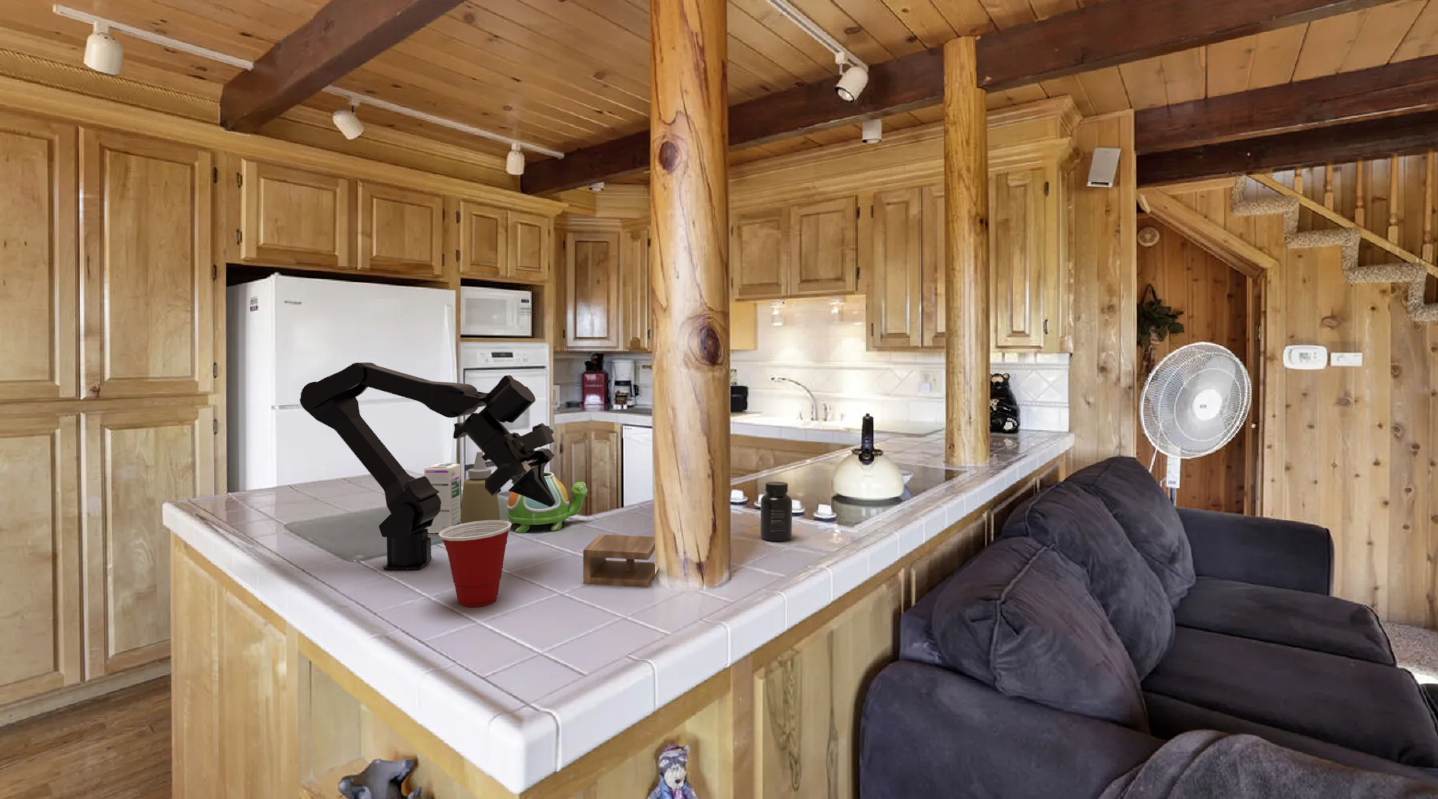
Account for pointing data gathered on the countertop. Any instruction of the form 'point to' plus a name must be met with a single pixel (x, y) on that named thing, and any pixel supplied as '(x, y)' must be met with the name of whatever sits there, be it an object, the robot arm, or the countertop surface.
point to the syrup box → (446, 494)
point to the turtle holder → (539, 513)
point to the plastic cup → (476, 559)
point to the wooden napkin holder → (619, 571)
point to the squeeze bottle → (478, 495)
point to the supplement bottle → (776, 513)
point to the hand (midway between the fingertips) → (553, 504)
